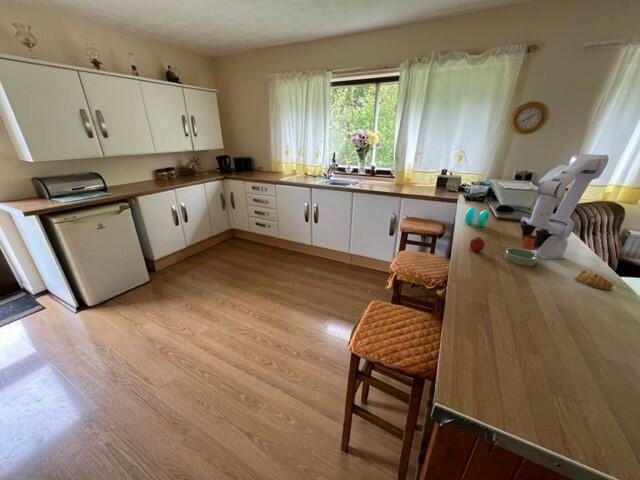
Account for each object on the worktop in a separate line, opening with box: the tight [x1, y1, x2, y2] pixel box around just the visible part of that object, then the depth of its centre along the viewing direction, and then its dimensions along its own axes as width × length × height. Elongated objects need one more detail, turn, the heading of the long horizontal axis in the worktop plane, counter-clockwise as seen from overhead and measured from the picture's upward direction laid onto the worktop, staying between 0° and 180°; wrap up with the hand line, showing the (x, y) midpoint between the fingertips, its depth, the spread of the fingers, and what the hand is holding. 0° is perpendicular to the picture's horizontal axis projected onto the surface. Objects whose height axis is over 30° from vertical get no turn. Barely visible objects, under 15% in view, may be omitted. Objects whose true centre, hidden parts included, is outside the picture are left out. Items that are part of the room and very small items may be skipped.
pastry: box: [574, 269, 614, 291], centre depth 92 cm, size 9×7×4 cm
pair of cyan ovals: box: [464, 207, 490, 228], centre depth 150 cm, size 10×10×10 cm
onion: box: [469, 235, 486, 253], centre depth 116 cm, size 6×6×8 cm
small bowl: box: [520, 234, 539, 251], centre depth 104 cm, size 6×6×4 cm
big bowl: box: [503, 247, 539, 267], centre depth 109 cm, size 11×11×4 cm
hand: (530, 243), depth 104 cm, fingers closed on small bowl, 5 cm apart
